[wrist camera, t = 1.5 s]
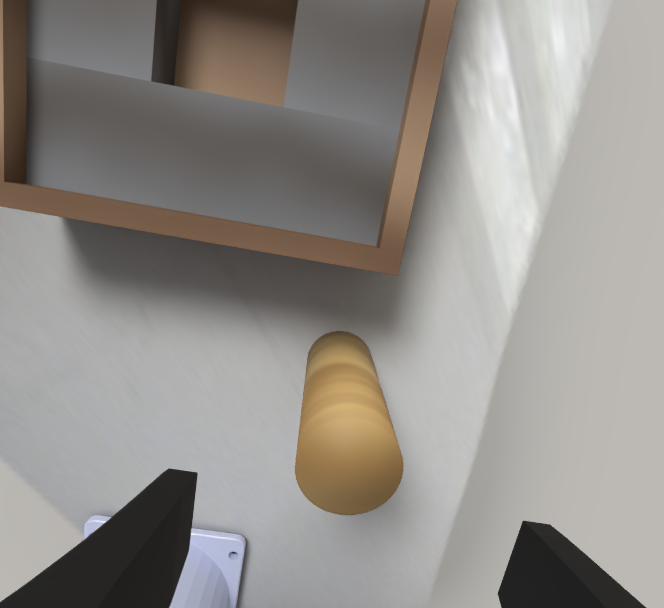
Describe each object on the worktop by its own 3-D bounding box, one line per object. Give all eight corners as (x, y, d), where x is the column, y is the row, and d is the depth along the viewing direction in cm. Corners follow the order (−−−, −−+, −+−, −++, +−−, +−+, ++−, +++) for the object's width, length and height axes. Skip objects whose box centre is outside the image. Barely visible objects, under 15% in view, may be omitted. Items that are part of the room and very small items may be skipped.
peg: (364, 396, 20) (390, 521, 12) (302, 386, 19) (287, 507, 12) (377, 336, 19) (413, 429, 11) (313, 326, 19) (304, 411, 11)
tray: (382, 260, 18) (397, 275, 14) (57, 203, 17) (-22, 202, 13) (460, -119, 15) (507, -234, 11) (66, -210, 14) (-33, -369, 10)
